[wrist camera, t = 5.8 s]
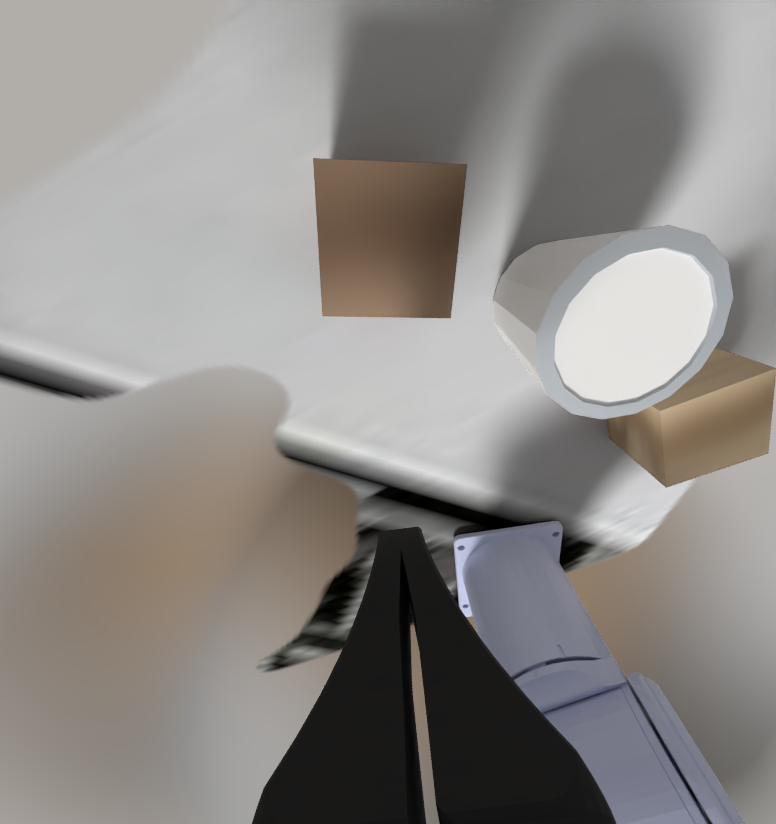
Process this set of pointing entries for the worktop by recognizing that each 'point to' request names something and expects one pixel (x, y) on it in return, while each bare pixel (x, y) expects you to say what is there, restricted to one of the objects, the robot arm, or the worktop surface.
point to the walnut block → (388, 236)
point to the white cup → (615, 316)
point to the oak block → (702, 421)
